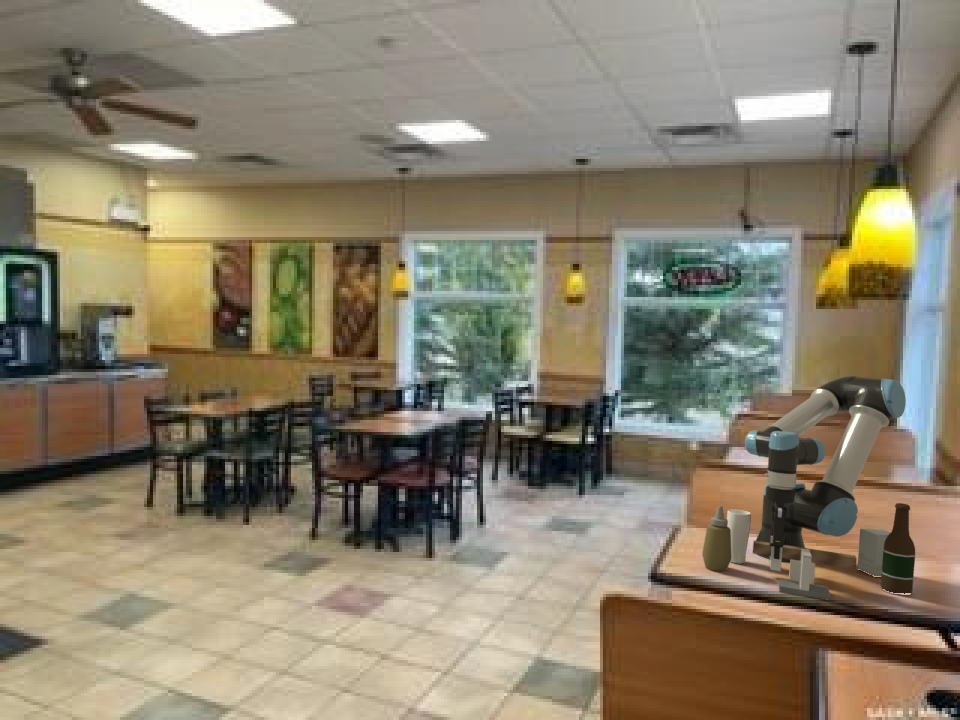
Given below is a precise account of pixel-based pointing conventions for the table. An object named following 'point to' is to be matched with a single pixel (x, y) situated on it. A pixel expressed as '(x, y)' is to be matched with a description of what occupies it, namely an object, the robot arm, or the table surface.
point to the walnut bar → (817, 555)
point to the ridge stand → (804, 581)
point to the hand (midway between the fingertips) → (774, 564)
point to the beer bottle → (898, 554)
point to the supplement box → (871, 550)
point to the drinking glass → (739, 533)
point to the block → (795, 571)
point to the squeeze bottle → (717, 543)
